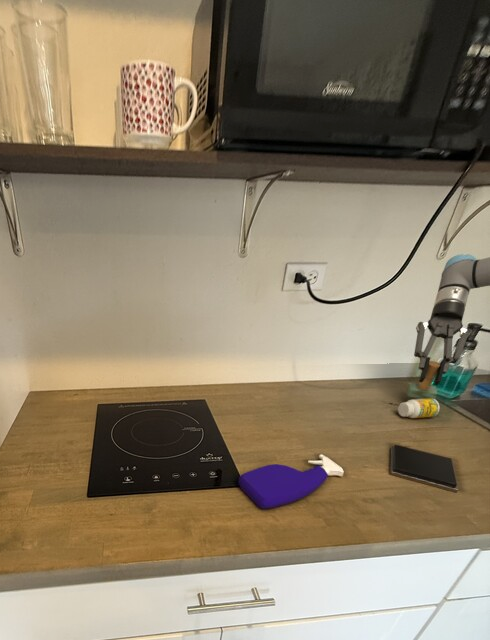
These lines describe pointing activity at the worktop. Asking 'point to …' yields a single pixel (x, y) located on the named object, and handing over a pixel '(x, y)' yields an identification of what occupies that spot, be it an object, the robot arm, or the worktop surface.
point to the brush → (425, 384)
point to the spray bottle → (285, 482)
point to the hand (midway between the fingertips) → (429, 381)
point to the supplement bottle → (419, 408)
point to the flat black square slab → (423, 468)
